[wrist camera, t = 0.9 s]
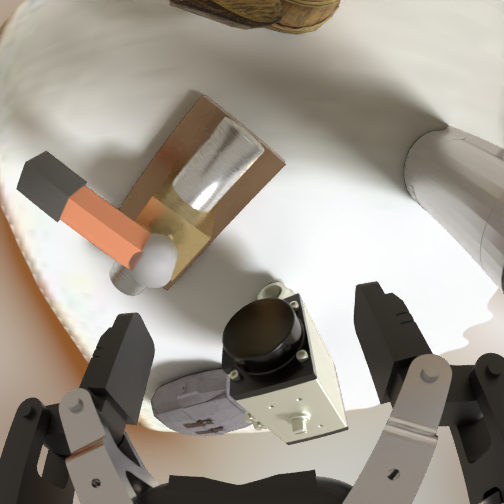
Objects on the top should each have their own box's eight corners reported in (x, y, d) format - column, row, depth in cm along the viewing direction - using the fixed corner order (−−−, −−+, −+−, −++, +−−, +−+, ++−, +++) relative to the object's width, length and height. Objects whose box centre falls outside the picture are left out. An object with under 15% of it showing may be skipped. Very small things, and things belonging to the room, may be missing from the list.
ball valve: (216, 268, 36) (198, 404, 21) (283, 241, 34) (307, 377, 19) (276, 355, 44) (284, 464, 29) (329, 337, 42) (354, 447, 27)
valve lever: (186, 248, 23) (179, 270, 20) (164, 274, 24) (156, 296, 21) (48, 146, 18) (27, 157, 15) (35, 179, 19) (15, 192, 17)
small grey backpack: (224, 353, 44) (137, 382, 50) (221, 399, 37) (127, 420, 43) (272, 395, 51) (189, 417, 57) (274, 435, 44) (185, 451, 50)
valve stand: (204, 94, 25) (183, 102, 17) (284, 160, 29) (299, 197, 21) (103, 237, 33) (67, 287, 25) (169, 282, 37) (151, 341, 28)
